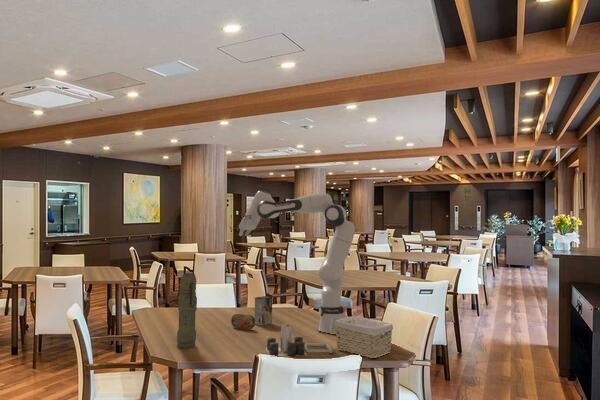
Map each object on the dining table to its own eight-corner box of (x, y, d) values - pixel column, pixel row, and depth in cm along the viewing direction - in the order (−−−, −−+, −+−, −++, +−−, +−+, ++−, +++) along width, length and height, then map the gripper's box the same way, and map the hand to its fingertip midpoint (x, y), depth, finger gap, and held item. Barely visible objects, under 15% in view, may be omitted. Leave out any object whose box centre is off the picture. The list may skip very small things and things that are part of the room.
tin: (230, 327, 269) (231, 313, 269) (234, 326, 271) (234, 312, 272) (252, 331, 262) (253, 315, 262) (255, 330, 264) (256, 315, 265)
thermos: (186, 342, 234) (189, 271, 236) (201, 346, 226) (203, 274, 228) (171, 345, 228) (173, 273, 230) (185, 350, 220) (187, 275, 222)
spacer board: (302, 349, 226) (303, 336, 226) (307, 358, 211) (307, 344, 211) (265, 349, 224) (265, 336, 224) (267, 359, 208) (267, 345, 209)
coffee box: (264, 322, 286) (264, 295, 286) (272, 323, 282) (272, 296, 282) (253, 324, 278) (254, 297, 279) (262, 326, 274) (262, 298, 275)
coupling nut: (291, 350, 220) (291, 324, 221) (291, 352, 216) (292, 326, 216) (280, 350, 220) (280, 324, 220) (280, 352, 215) (281, 326, 216)
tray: (327, 347, 230) (327, 343, 230) (332, 354, 218) (332, 349, 218) (303, 347, 229) (303, 343, 229) (306, 354, 217) (306, 350, 217)
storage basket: (394, 354, 220) (394, 322, 221) (375, 361, 209) (375, 328, 209) (353, 344, 237) (353, 315, 237) (333, 350, 225) (333, 319, 225)
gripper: (251, 217, 270) (240, 238, 271) (263, 217, 290) (253, 237, 291) (242, 212, 272) (231, 233, 273) (254, 213, 292) (244, 232, 293)
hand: (242, 235), depth 282 cm, fingers open, 8 cm apart
